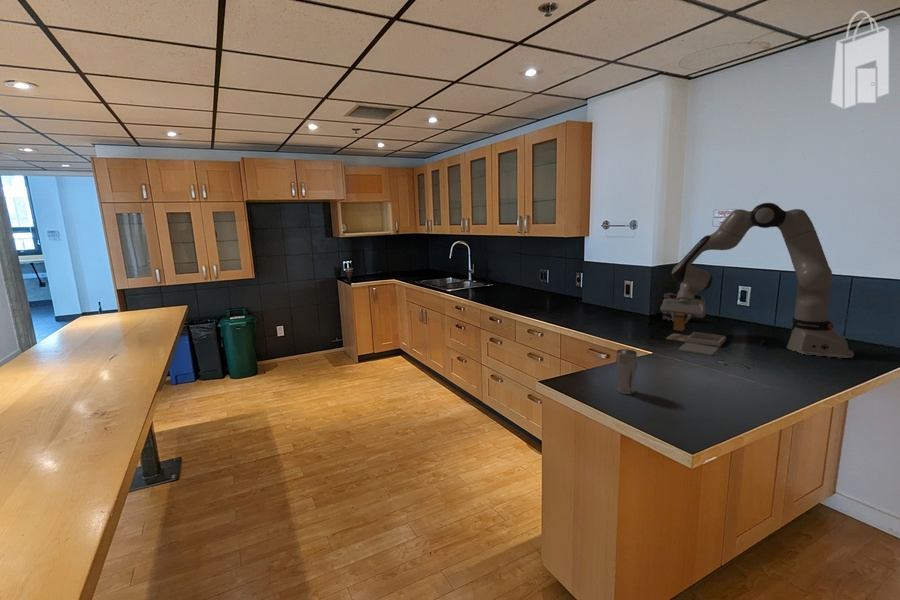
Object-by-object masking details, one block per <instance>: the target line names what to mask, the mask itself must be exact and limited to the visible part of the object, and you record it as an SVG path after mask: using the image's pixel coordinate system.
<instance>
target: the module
mask: <svg viewBox="0 0 900 600" xmlns="http://www.w3.org/2000/svg"><path fill="white" fill-rule="evenodd" d="M686 317H687V316H686V314H682V313H676V314H674V321H673V331H679V332H680V331H681V332H682V331H684V330H685V329H686V328H685V325H686V323H684V322H683V320H684V318H686Z"/></svg>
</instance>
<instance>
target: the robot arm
mask: <svg viewBox="0 0 900 600" xmlns="http://www.w3.org/2000/svg"><path fill="white" fill-rule="evenodd" d="M753 227H759V228H763V229H767V228H768V229H769V228H775V227H776V228H777V229H778V230H779V231H780V233H781V235H782V238H783V240H784V243H785V246H786V248H787V251H788V254H789V256H790V259H791V262H792V266H793V270H794V272H795V275H796V277H797V290H796V297H795V298H796V299H795V306H794V316H793V317H792V321H791V334H790V337H789V340H788V343H787V344H786V346H785V347H786V349H788V350H790V351H792V352H795V351H796V353H798V352H799V353H798V354H800V353H801V355H803V354H805V356H811V355H816V356H815V357H821V356H827V357H826V358H831V357H837V358H836V359H841V358H851V359H853V358H854V357H855V352H854V351H853V350H851V349H849V346H848V345H849V344H848V341H847V340H846V338H844V336H842V335H840V334H839V333H837V332H836V331H835V330H833V328H834V323H833V322H832V321H829V320H828V312H829V306H830V304H829V303H830V295H831V284H832V280H833V271H832V269H831V267H830V266H829V262H828V259H827V257H826V255H825V251H824V249H823V247H822V244H821V241H820V239H819V236H818V233H817V230H816V228H815V226H814V224H813V222H812V220H811V218H810V217H809V215H808V213H807V212H806V211H805V210H804V209H800V208H799V209H798V208H795V209H790V210H783V209H782V208H781V207H780V206H779V205H778V204H776V203H773V202H763V203H760V204H758V205H757V206H754V208H753V209H752V210H751V211H749V210H746V209H740V208H739V209H734V210H733V211H731V213H729V214H728V215H727V216H726V217H725V219H724V220H723V221H722V223H720V226H719V227H718V228H717V230H715V231H714V232H713V233H712V234H710V235H705V236H703V237H702V238H701V239H700V240H699V241H698V242H697V243H696V244H695V245H694V246H692V248H691V249H690V251H689V252H688V253H687V254H686V255H685V256H684V257H683V258H682V259H681V260H680V261H679V262H678V263H677V264H676V265H675V266H674V267H672V270H671V277H672V278H673V279H672V280H673V281H674V282H675V281H676V282H677V283H680V285H679V290H678V291H677V293H676V294H677V297H676V298H665V299H664V298H663V300H662V304H661V306H660V312H661V313H662V314H663V313H665V314H671V316H672V321H671V322H674V314H676V313H682V314H686V316H685V318H684V320H683V322H684V323H685V324H687V323H688V321H690V320H691V319H692V317H693V318H700V319H702V318H705V317H706V313H707V312H706V311H707V309H706V299H705V297H704V296H701V295H698V293H702V292H704V291H706V290H708V289H710V287H711V285H712V283H713V275H712V273H710V272H709V271H707V270H704V269H701V268H699V267H696V266H693V265H692V264H693V263H694V262H695V261H696V259H698V258H699V257H700V255H701V254H702V253H704V252H706V251H712V250H714V251H715V250H716V251H728V250H731V249H734V248H736V247H738V245H739V244H740V243H741V241H742V240H743V238H744V237H745V236H746V234H747V232H748V231H749V230H750V229H751V228H753ZM853 356H854V357H853ZM852 357H853V358H852Z"/></svg>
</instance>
